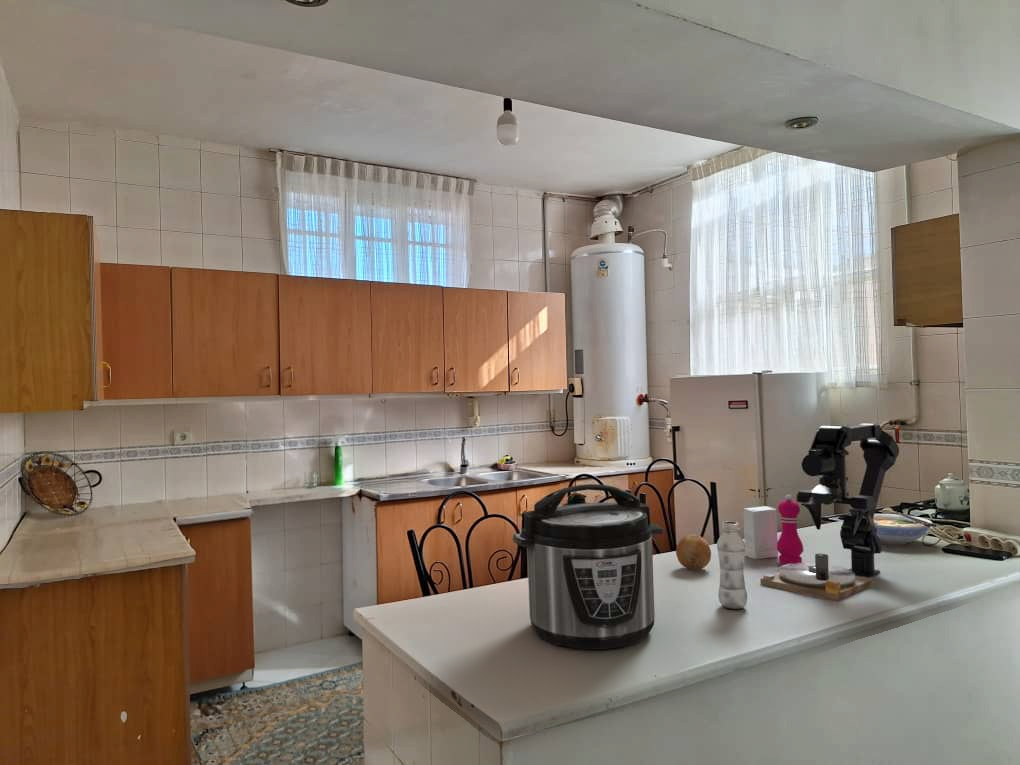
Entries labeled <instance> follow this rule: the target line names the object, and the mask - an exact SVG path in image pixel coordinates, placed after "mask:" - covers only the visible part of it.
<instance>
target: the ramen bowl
mask: <svg viewBox="0 0 1020 765" xmlns="http://www.w3.org/2000/svg"><path fill="white" fill-rule="evenodd" d="M894 513H896V514H893V513H892V514H891V513H874V517H873V520H874V522H875V525H876V528H877V533H876V534H877V536H878V537H879V539H880V540H881V542H882V544H888V545H896V546H897V545H905V544H906V543H909V542H914V541H917V540H919V539H921V538H922V537H923V536H924V535H925V534H926V533H927V532H928V531H929V530H930V528H931V527H933V528H936V527H937V524H934V523H933V522H932V521H931V520H930V519H927V518H923V517H918V516H911V515H906V514H904V513H902V512H901V513H900V512H898V511H897V512H894Z"/></svg>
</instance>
